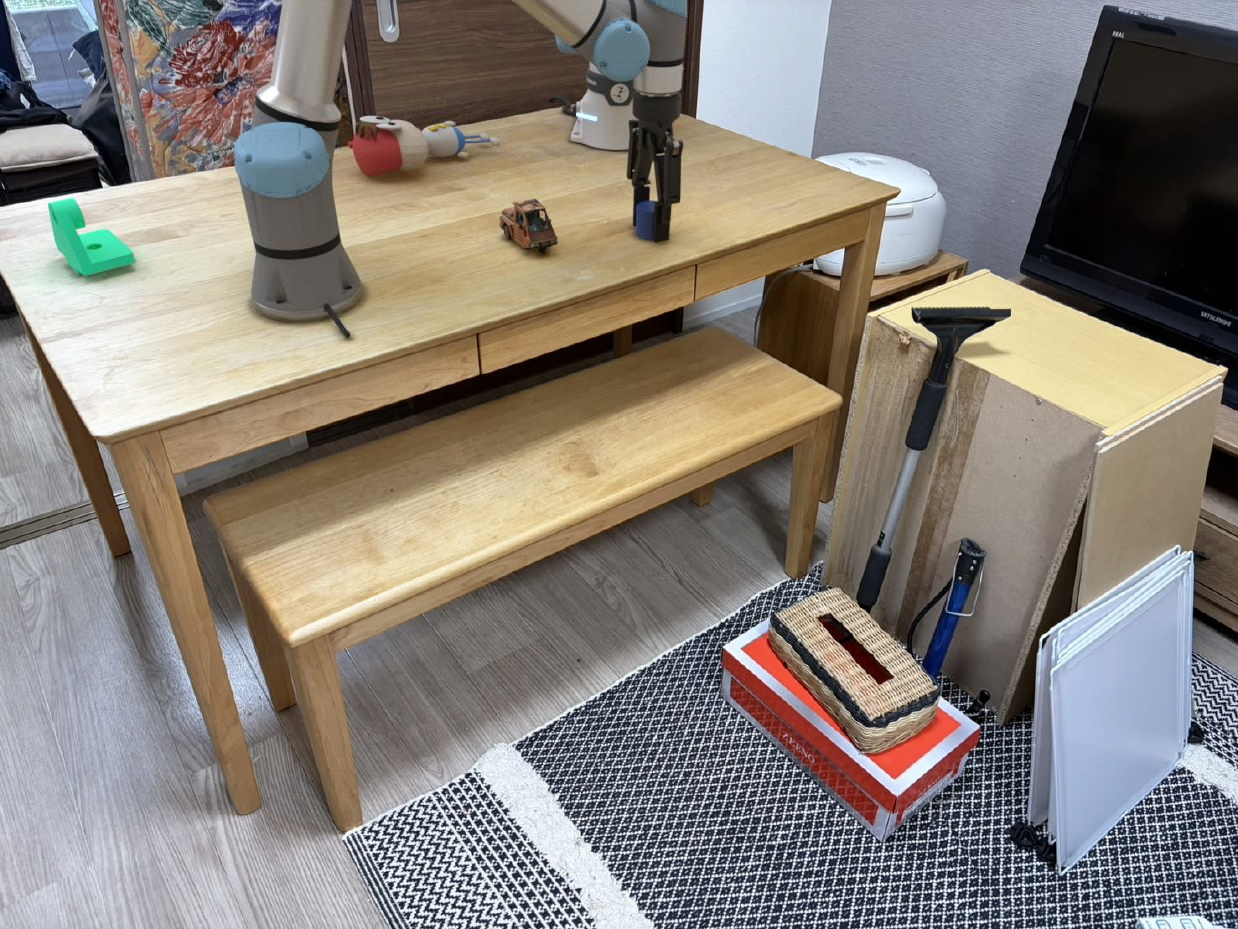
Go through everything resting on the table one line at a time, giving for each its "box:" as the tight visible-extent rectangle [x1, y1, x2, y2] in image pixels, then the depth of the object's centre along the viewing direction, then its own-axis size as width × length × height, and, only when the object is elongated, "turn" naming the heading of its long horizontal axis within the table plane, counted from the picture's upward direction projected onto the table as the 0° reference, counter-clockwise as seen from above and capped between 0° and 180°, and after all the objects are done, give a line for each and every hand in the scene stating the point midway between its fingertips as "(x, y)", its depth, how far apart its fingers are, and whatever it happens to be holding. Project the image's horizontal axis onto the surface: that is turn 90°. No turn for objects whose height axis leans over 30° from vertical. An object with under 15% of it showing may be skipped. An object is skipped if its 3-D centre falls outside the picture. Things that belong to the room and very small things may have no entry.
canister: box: [635, 200, 658, 241], centre depth 155 cm, size 5×5×5 cm
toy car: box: [499, 198, 559, 255], centre depth 150 cm, size 6×12×7 cm, turn 39°
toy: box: [347, 115, 502, 177], centre depth 180 cm, size 18×10×30 cm
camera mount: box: [47, 197, 136, 277], centre depth 139 cm, size 12×8×10 cm, turn 42°
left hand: (650, 232), depth 157 cm, fingers open, 6 cm apart
